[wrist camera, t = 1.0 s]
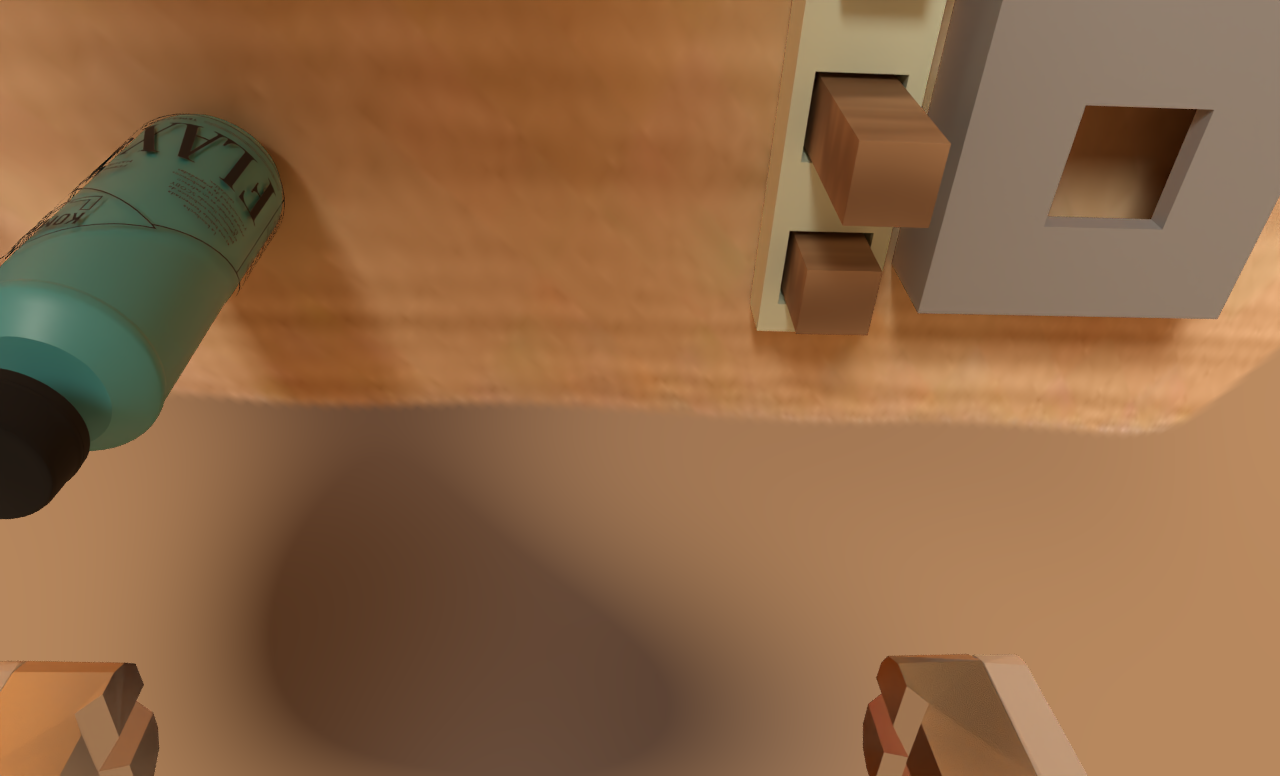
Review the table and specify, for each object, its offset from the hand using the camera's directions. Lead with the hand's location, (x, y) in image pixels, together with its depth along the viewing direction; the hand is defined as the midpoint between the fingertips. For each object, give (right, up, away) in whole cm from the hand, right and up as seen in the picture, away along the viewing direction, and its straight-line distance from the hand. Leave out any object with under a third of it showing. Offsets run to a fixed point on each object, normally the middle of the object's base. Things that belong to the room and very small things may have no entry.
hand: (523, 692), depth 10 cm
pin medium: (+10, +10, +33) cm, 36 cm away
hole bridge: (+21, +15, +30) cm, 40 cm away
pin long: (+10, +16, +29) cm, 35 cm away
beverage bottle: (-17, +13, +30) cm, 37 cm away
